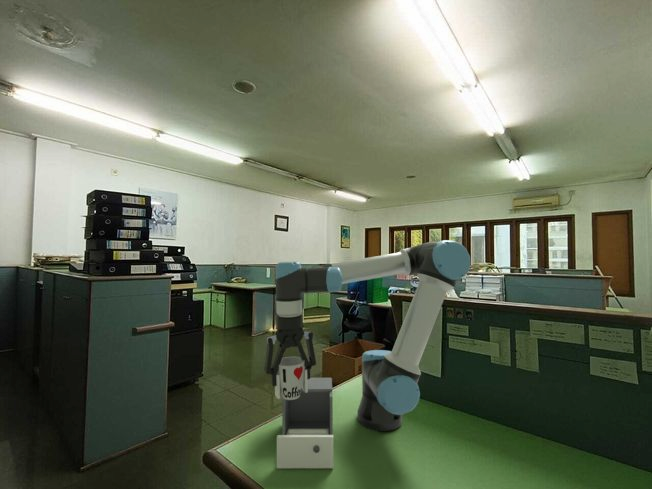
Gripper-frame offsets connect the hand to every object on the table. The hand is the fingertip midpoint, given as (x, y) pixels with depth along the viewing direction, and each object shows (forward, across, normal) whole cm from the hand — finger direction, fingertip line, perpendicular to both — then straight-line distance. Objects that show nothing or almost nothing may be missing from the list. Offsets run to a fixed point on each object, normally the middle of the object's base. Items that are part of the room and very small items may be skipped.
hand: (291, 393), depth 89 cm
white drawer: (+17, -4, +2) cm, 17 cm away
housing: (+17, -7, -6) cm, 19 cm away
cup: (+1, 0, 0) cm, 1 cm away
